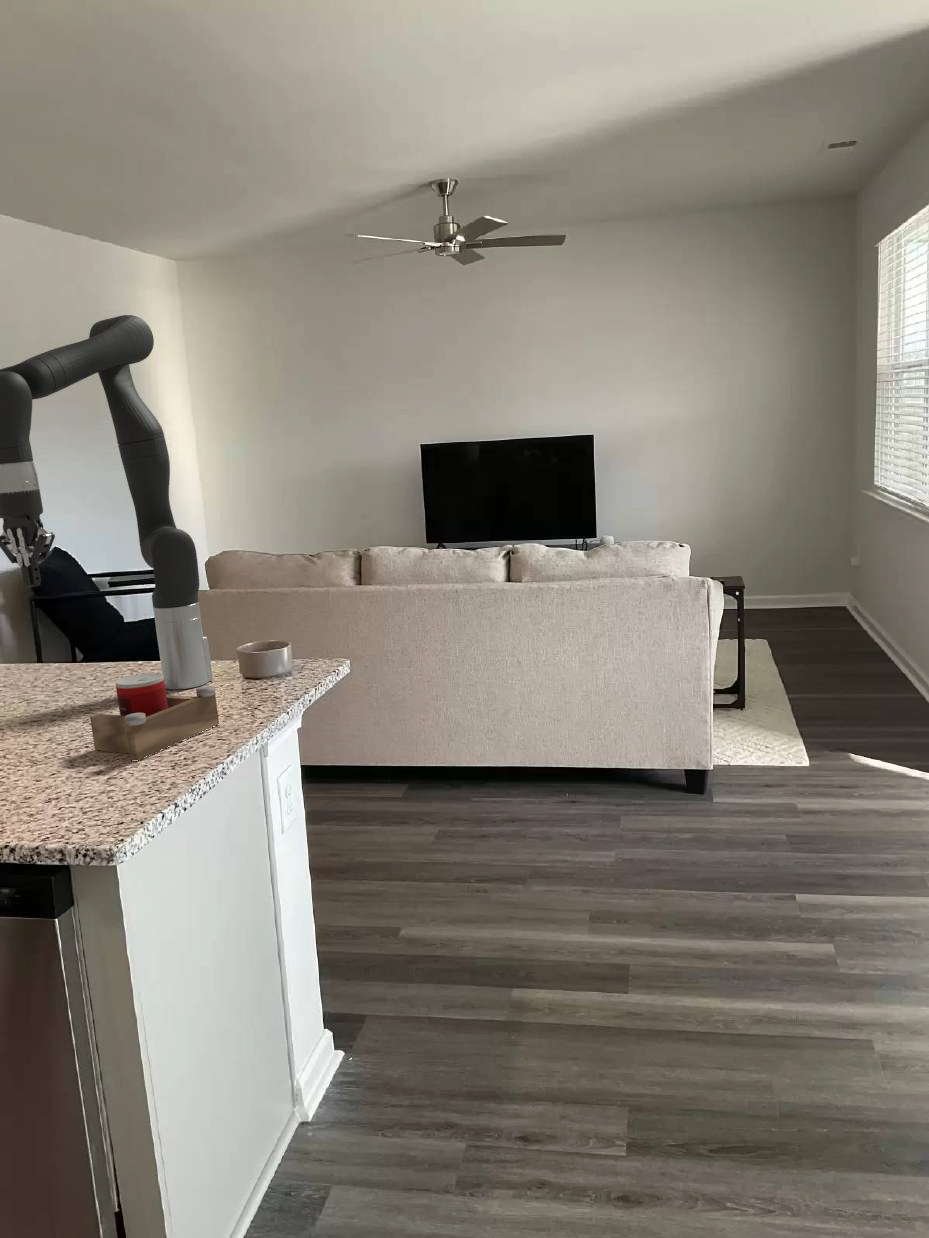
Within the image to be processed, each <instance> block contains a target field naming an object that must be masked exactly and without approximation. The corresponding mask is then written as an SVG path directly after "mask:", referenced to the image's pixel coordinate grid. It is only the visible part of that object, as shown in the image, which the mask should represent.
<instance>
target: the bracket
mask: <svg viewBox="0 0 929 1238" xmlns="http://www.w3.org/2000/svg"><path fill="white" fill-rule="evenodd" d="M195 693H196V696H189V695H174V694H173V695H170V694H166V696H167V704H168V709H165V710H163V711H160V712H158V713H155V714H153V715H150V716H148V717H146V715H145V713H133V714H129V715H127V716H122V715H120V714H108V713H106V714H105V713H104V714H103V713H95V714H92V715H89V721H90V725H91V732H92V733H91V734H92V739H93V745H94V746H93V747H94V751H95V750H101V751H100V752H106V751H109V752H108V753H116V752H119V753H118V754H127V753H130V754H129V757H130V761H131V760H141V759H143V758H144V757H146V756H149V755H151V754H153V753H156V752H158V751H160V750H161V749H165V748H167V747H168V746H172V745H174V744H175V743H179V742H181V741H182V740H184V739H187V740H189V739H188V738H189V737H191V736H194V735H196V734H198V733H199V732H202V731H205V730H206V729H209V728H211V727H213V726H216V725H218V724H219V725H220V722H219V721H220V720H219V714H218V713H219V712H218V704H217V696H216V687H215V685H201V686H198V687H197V688H195ZM216 727H217V726H216ZM205 732H206V731H205ZM196 736H197V735H196ZM194 737H195V736H194ZM181 743H182V742H181ZM179 744H180V743H179ZM174 746H175V745H174ZM172 747H173V746H172ZM167 749H168V748H167ZM165 750H166V749H165ZM120 752H121V753H120ZM156 754H157V753H156ZM143 760H144V759H143ZM141 761H142V760H141Z"/></svg>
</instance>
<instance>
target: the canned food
mask: <svg viewBox="0 0 929 1238" xmlns="http://www.w3.org/2000/svg"><path fill="white" fill-rule="evenodd" d="M115 689H116V696H117V702H118V710H119V715H122V716H127V715H129V714H133V713H145V715H146V717H148V716H150V715H153V714H155V713H158V712H160V711H163V710H165V709H168V704H167V696H166V695H167V690H166V689H167V688H165V683H164V677H163V674H162V673H158V672H157V673H156V672H152V673H149V672H148V673H146V672H145V673H140V674H133V675H129V676H125V677H123V678H121V679H118V680H117V681H116V682H115Z"/></svg>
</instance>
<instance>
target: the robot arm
mask: <svg viewBox="0 0 929 1238" xmlns="http://www.w3.org/2000/svg"><path fill="white" fill-rule="evenodd" d="M154 343H155V340H154V334H153V331H152V330H151V327H150V326H149V324H148V323H147V322H146V321H145V320H144V319H143V318H142V317H139V316H136V315H133V314H123V315H118V316H114V317H111V318H105V319H102V320H99V321H97V322H94V323H93V325H92V326H91V328H90V331H89V333H88V338H86V339H83V340H80V341H76V342H73V343H70V344H67V345H63V346H60V347H55V348H53V349H49V350H47V351H44V352H41V353H39V354H37V355H34V356H32V357H30V358H27V359H25V360H23V361H21V362H19V363H17V364H14V365H11V366H8V367H7V366H6V367H4V368H0V519H2V521H3V522H2V531H3V532H2V533H1V535H0V549H1V551H2V552H3V553H4V554H5V556H6V558H7V559H8V560H9V562H11V563H12V564H16V565H18V567H20V568H21V575H22V582H23V584H24V585H25V587H27V588H34V587H39V586H41V585H42V583H41V582H42V578H41V573H40V572H41V571H40V567H39V565H40V564H41V563H42V562H44V561H46V560H47V559H48V557H49V554H50V552H51V549H52V545H53V543H54V540H55V538H56V535H55V533H54V532H53V531H52V532H48V531H47V530H46V529H44V523H43V522H42V519H41V517H40V516H41V515H42V514H43V512H44V508H43V501H42V495H41V489H40V484H39V478H38V473H37V470H36V467H35V463H34V456H33V450H32V445H31V441H30V434H31V428H32V415H33V414H32V413H33V400H38V399H42V398H46V397H49V396H51V395H53V394H55V393H58V392H59V391H61V390H62V391H63V390H64V389H66V388H68V387H70V386H72V385H75V384H77V383H78V382H80V381H82V380H85V379H87V378H89V377H91V376H93V375H95V374H98V377H99V379H100V382H101V385H102V388H103V391H104V394H105V397H106V401H107V405H108V408H109V413H110V415H111V420H112V423H113V428H114V431H115V437H116V442H117V446H118V452H119V454H120V459H121V462H122V466H123V469H124V473H125V477H126V482H127V485H128V489H129V492H130V496H131V499H132V500H131V501H132V502H133V505H134V510H135V511H134V512H135V517H136V525H137V533H138V541H139V549H140V553H141V556H142V558H143V561H144V562H145V563H146V565H148V566H149V567H150V568H151V569H152V570H153V577H154V590H153V592H152V594H151V601H152V607H153V609H152V610H153V616H154V623H155V631H156V638H157V639H156V640H157V645H158V651H159V659H160V666H161V672H162V673H161V674H162V675H163V677H164V683H165V689H168V690H184V689H191V688H196V687H197V688H198V687H201V686H204V685H206V684H207V683H209V682H210V681H213V680H214V678H213V671H212V670H213V669H212V661H211V654H210V653H211V652H210V647H209V638H208V637H207V636H206V635H205V636H204V632H203V626H202V624H203V623H202V618H201V609H200V603H199V591H200V575H199V574H200V573H199V572H200V571H199V563H198V556H197V555H198V554H197V553H198V552H197V549H196V545H195V544H196V543H195V542H194V540H193V538H192V536H190V534H188V532H186V531H184V530H183V529H180V528H178V527H177V526H176V521H175V520H174V516H173V512H172V508H171V501H170V477H171V466H170V465H171V463H170V455H169V450H168V447H167V441H166V438H165V433H164V430H163V427H162V425H161V423H160V422H159V421H158V419H157V417H156V416H155V415H154V413H153V412H152V411H151V410H150V408H149V407H148V405H146V403H145V402H144V401H143V399H142V397H141V396H140V395H139V393H138V391H137V389H136V386H135V384H134V380H133V377H132V373H131V367H130V365H133V364H138V363H141V362H143V361H145V360H146V359H147V358H148V357H150V355H151V354H152V352H153V349H154V346H155V345H154Z"/></svg>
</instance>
